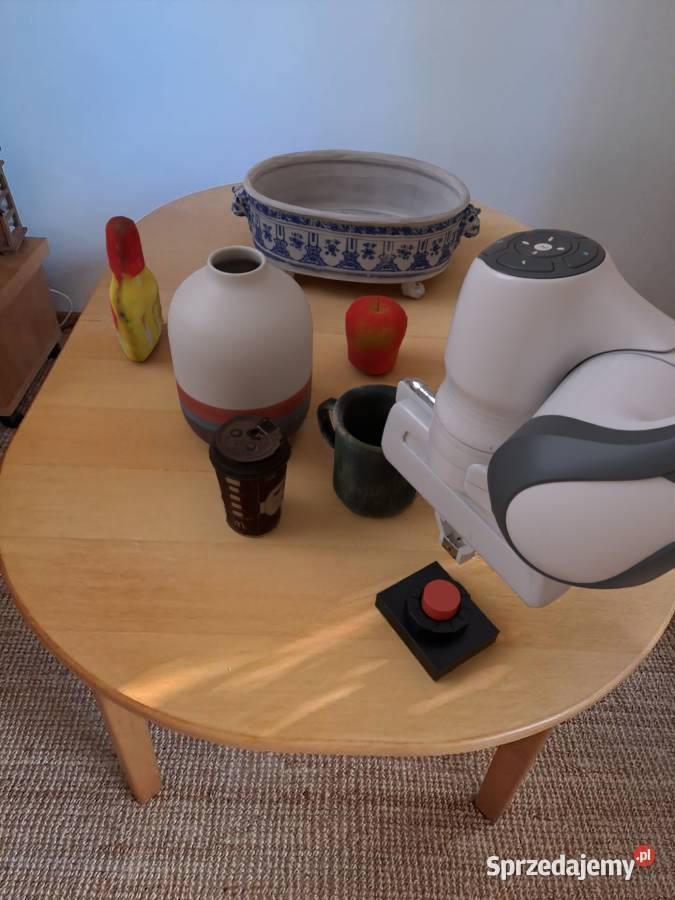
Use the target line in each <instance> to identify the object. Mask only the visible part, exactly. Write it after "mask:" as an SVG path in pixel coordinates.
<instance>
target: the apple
mask: <svg viewBox="0 0 675 900" xmlns="http://www.w3.org/2000/svg"><path fill="white" fill-rule="evenodd" d="M408 319H409V316H408V315H407V313H406V310H405V309H404V308H403V306H401V304H399V303H398V302H397V301H395V300H394V299H392V298H389V297H387V296H383V295H374V294H373V295H364V296H360V297H358V298H356V299H355V300H354V301H353V302H352V303H351V304H350V305H349V307H348V309H347V311H346V312H345V318H344V321H345V322H344V324H345V325H344V326H345V327H344V330H345V338H346V343H347V359H348V361H349V362H350V364H351V365H352V366H353V367H355V368H356V369H357V370H359V372H362V373H363V374H366V375H368V376H377V375H378V376H379V375H382V374H385V373H387V372H389V371H392V370H393V369H394V367H395V366H396V364H397V362H398V356H399V352H400V348H401V345H402V343H403V340H404V339H405V336H406V332H407V330H408V329H407V328H408Z"/></svg>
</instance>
